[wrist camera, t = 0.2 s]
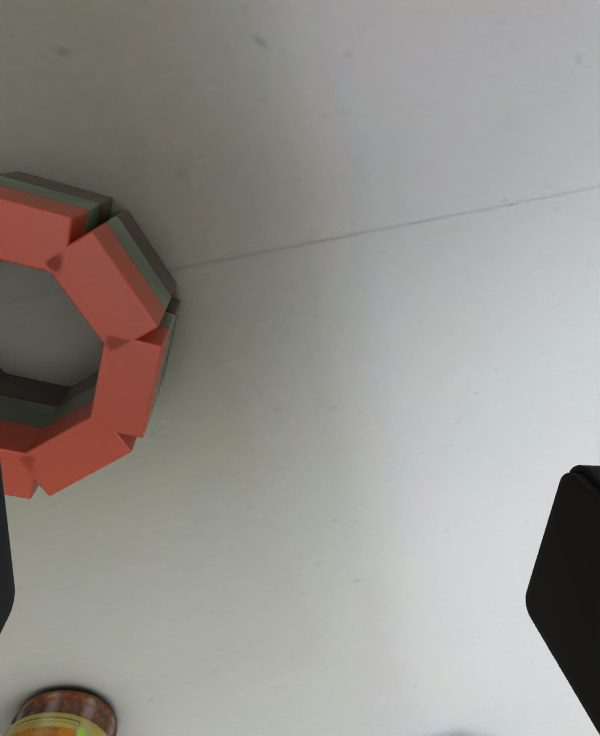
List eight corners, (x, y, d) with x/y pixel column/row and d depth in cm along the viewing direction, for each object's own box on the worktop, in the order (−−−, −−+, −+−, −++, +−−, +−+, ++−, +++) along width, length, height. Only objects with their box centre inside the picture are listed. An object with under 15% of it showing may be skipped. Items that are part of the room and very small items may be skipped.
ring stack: (-146, 263, 24) (-217, 287, 20) (73, 126, 23) (40, 125, 19) (27, 458, 28) (-7, 507, 24) (220, 351, 27) (216, 385, 23)
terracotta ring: (-217, 287, 20) (-263, 302, 18) (40, 125, 19) (18, 124, 17) (-7, 507, 24) (-27, 538, 23) (216, 385, 23) (214, 407, 21)
